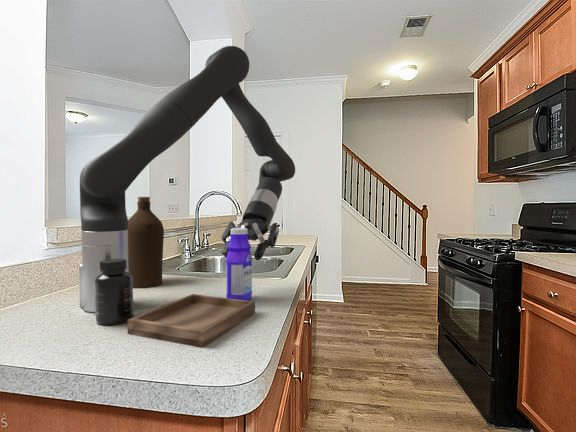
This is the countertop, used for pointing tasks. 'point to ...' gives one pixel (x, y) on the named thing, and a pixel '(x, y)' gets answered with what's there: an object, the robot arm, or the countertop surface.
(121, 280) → the supplement bottle
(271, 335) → the countertop surface
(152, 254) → the olive oil
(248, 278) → the bottle
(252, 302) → the walnut tray
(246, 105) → the robot arm
